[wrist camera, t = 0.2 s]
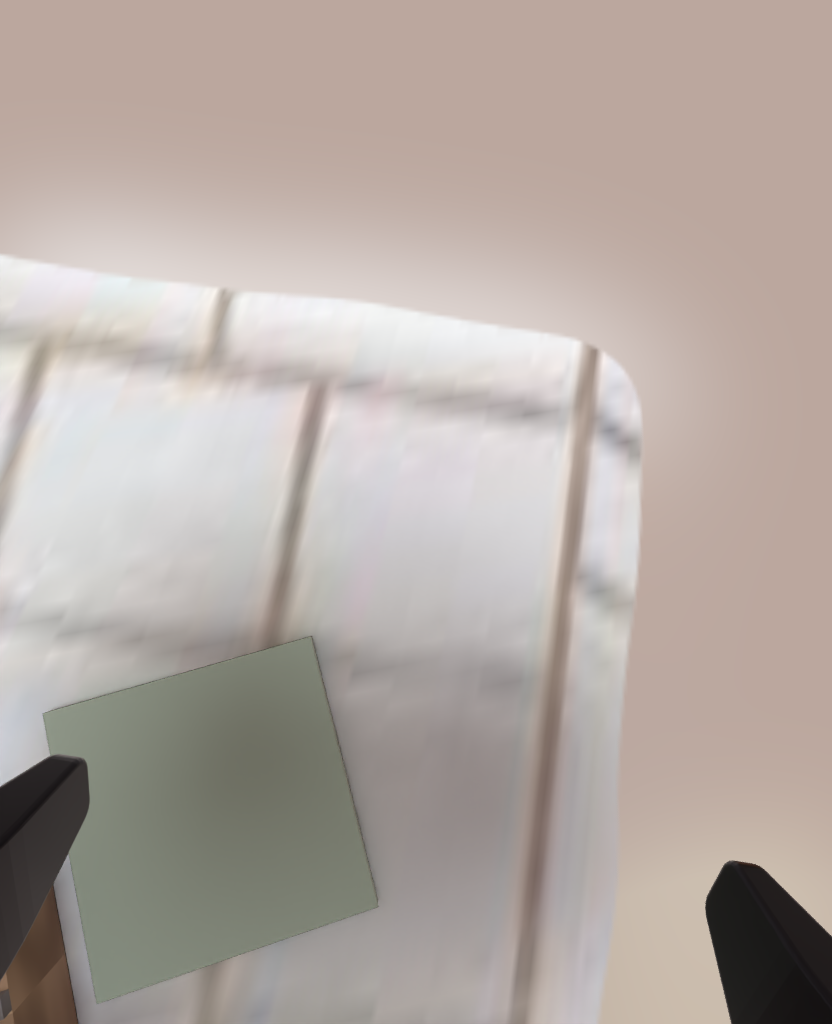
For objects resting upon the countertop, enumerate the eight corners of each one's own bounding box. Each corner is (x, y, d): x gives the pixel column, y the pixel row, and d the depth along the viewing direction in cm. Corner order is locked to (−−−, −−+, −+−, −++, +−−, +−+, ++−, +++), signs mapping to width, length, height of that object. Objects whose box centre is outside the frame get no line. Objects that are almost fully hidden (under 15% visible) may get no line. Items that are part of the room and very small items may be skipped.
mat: (377, 899, 21) (378, 906, 21) (103, 994, 20) (96, 1004, 20) (311, 636, 23) (310, 636, 22) (50, 710, 21) (42, 713, 21)
